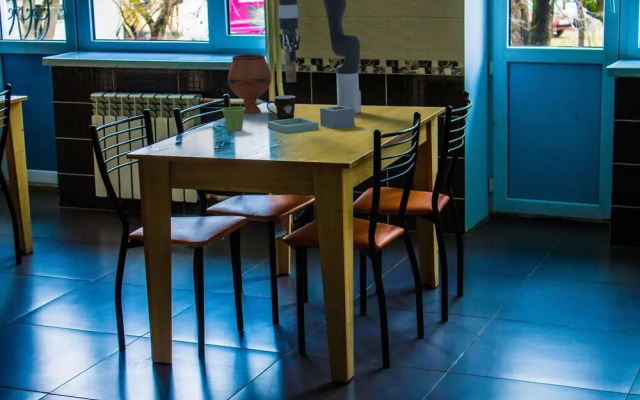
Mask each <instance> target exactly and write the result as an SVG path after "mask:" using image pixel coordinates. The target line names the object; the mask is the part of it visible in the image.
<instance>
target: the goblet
mask: <svg viewBox="0 0 640 400" xmlns="http://www.w3.org/2000/svg"><path fill="white" fill-rule="evenodd" d="M265 57H266V55H263V54H258V53H257V54H254V53H250V54H247V53H245V54H236V55H233V56H232V57H231V59H232V62H231V65H230V69H229V72H228V74H227V75H228V76H227V83H228V86H229V88H230V90H231V91H232V93H233V94H235V95H236V97H238V98H240V99H242V100H243V101H242V102H243V103H244V104H245V105H244V106H243V107H244V108H245V110H244V115H251V114H253V115H254V114H256V115H257V114H259V113H261V112H262V111H261V109H260V106H258V105H257V104H256V102H258V98H260V97H261V96H262V95H264V94H265V93H266V92H267V90H268V89H269V88H270V85H271V81H272V74H271V71H270V67H269V65H268V63H267V60H266V58H265Z"/></svg>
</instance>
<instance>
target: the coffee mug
mask: <svg viewBox="0 0 640 400" xmlns="http://www.w3.org/2000/svg"><path fill="white" fill-rule="evenodd" d="M271 103H272V104H274V106H275V110H276V112H275V111H272V109H270V108H269V104H271ZM295 108H296V96H295V95H278V96H275V97H274V101H273V100H271V101H268V102H267V103H266V109H267V110H268V111H269V112H270V113H272V114H274V115H276V116H277V120H285V119H293V118H295Z"/></svg>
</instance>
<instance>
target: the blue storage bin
mask: <svg viewBox="0 0 640 400" xmlns="http://www.w3.org/2000/svg"><path fill="white" fill-rule="evenodd" d="M319 117H320V126H321V127H325V128H329V129H332V130H333V129H341V128H348V127H355V126H356V125H355V124H356V123H355V114H354V108H350V107H345V106H338V105H335V106H328V107H320V108H319Z"/></svg>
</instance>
